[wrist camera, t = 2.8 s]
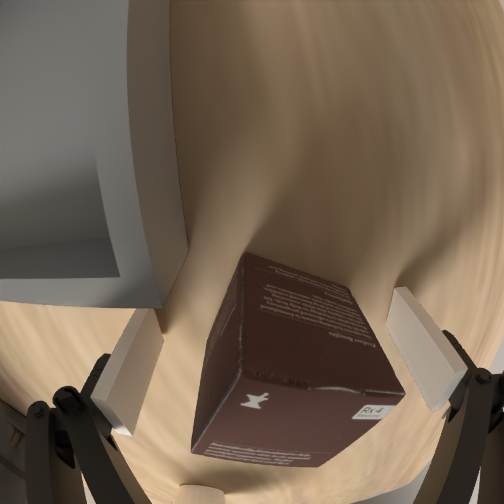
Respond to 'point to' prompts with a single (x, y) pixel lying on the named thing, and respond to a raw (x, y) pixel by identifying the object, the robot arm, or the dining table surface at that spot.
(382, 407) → the box
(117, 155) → the bin
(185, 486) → the cup
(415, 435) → the dining table surface
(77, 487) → the robot arm
